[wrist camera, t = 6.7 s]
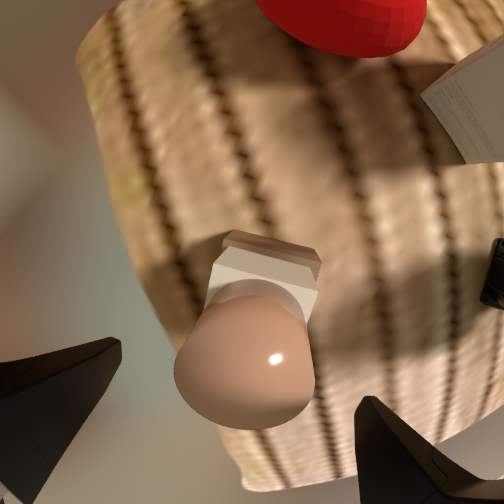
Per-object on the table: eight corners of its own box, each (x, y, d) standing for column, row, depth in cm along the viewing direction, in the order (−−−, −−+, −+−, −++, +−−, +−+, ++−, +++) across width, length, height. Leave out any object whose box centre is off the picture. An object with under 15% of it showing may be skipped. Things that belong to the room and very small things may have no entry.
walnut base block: (314, 248, 20) (321, 262, 16) (292, 320, 22) (294, 346, 18) (234, 229, 20) (223, 238, 16) (219, 302, 22) (206, 325, 18)
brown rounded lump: (318, 292, 12) (335, 342, 8) (289, 375, 14) (290, 438, 9) (212, 267, 13) (179, 307, 8) (198, 354, 14) (170, 411, 10)
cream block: (310, 267, 16) (318, 291, 12) (286, 338, 18) (286, 374, 14) (229, 245, 17) (213, 263, 13) (212, 318, 18) (195, 350, 14)
